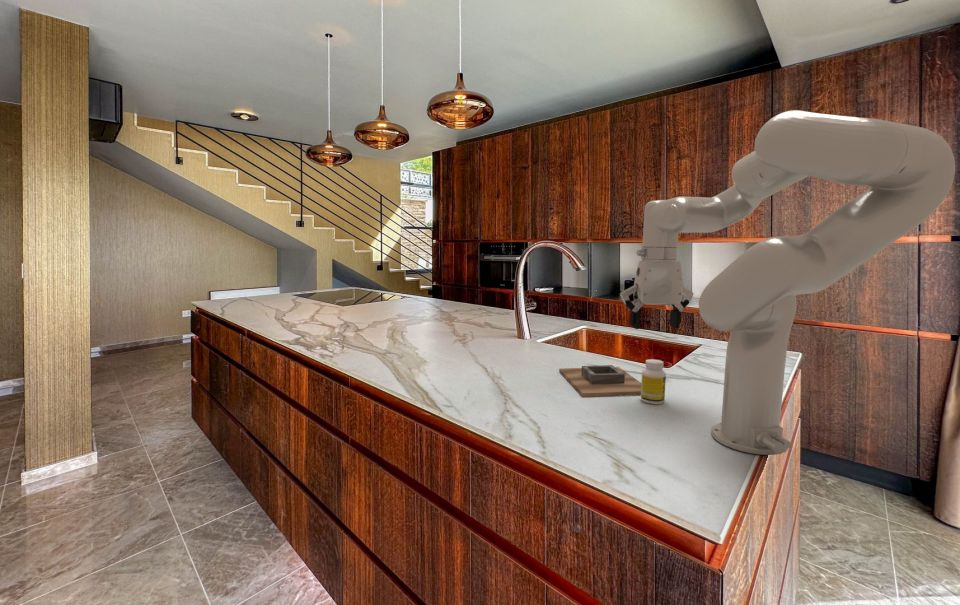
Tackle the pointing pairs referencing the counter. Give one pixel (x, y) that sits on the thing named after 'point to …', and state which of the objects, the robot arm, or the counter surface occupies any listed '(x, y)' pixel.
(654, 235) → the robot arm
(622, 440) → the counter surface
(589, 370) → the collar board
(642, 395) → the supplement bottle
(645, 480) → the counter surface
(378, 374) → the counter surface
